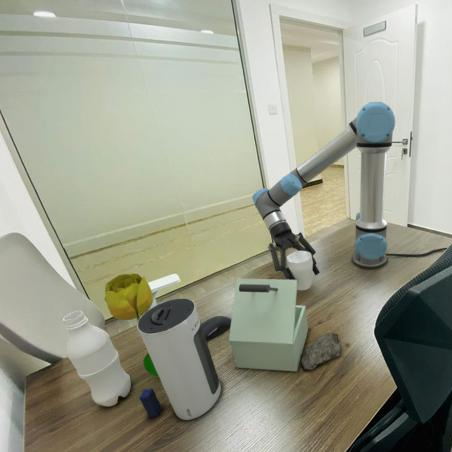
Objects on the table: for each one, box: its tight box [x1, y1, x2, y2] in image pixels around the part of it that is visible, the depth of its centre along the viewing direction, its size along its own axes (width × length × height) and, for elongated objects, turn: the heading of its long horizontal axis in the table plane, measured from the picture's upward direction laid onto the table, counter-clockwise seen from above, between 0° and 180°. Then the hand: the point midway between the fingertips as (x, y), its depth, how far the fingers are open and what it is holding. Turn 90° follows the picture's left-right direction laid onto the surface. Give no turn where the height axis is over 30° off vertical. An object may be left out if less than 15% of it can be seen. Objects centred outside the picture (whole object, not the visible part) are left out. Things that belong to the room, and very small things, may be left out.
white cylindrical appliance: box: [136, 297, 222, 421], centre depth 57 cm, size 11×10×26 cm
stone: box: [300, 332, 342, 371], centre depth 72 cm, size 14×8×3 cm, turn 116°
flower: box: [104, 273, 159, 377], centre depth 63 cm, size 9×8×30 cm
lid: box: [228, 278, 298, 344], centre depth 63 cm, size 15×17×9 cm
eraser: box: [139, 388, 162, 418], centre depth 58 cm, size 2×2×7 cm
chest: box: [229, 305, 309, 372], centre depth 74 cm, size 15×17×9 cm
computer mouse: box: [201, 315, 232, 342], centre depth 78 cm, size 12×17×4 cm
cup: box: [286, 250, 313, 291], centre depth 93 cm, size 9×9×12 cm
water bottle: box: [62, 310, 132, 407], centre depth 59 cm, size 7×7×25 cm
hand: (306, 279), depth 91 cm, fingers closed on cup, 9 cm apart
